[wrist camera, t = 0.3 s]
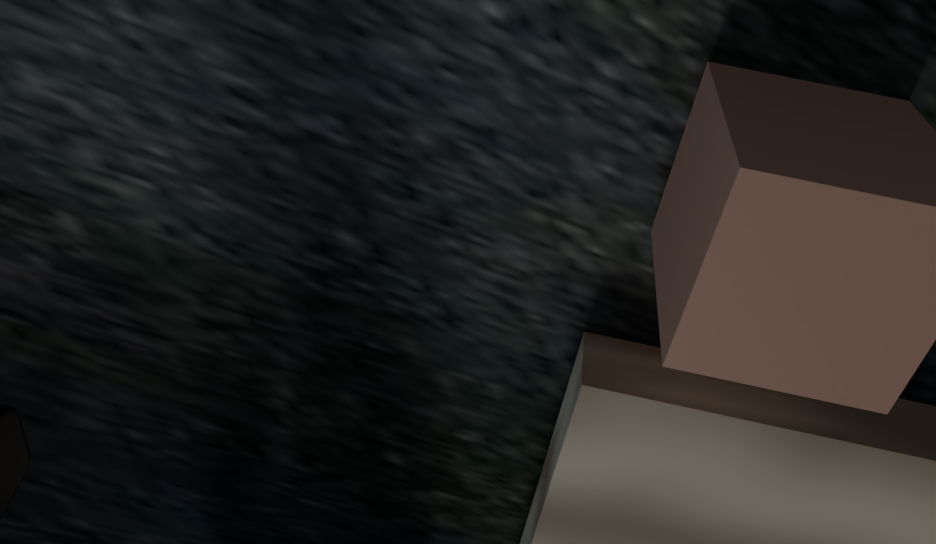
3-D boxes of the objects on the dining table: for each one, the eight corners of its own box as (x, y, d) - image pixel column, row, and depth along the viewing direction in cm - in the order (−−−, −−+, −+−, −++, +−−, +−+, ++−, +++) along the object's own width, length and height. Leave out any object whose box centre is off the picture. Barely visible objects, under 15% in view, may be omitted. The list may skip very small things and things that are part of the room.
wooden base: (826, 645, 31) (841, 708, 29) (510, 574, 32) (503, 630, 30) (1000, 419, 24) (1036, 482, 22) (583, 331, 24) (581, 384, 22)
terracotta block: (825, 265, 22) (887, 414, 17) (651, 229, 22) (661, 366, 17) (908, 100, 19) (1011, 222, 14) (707, 60, 19) (740, 167, 14)
